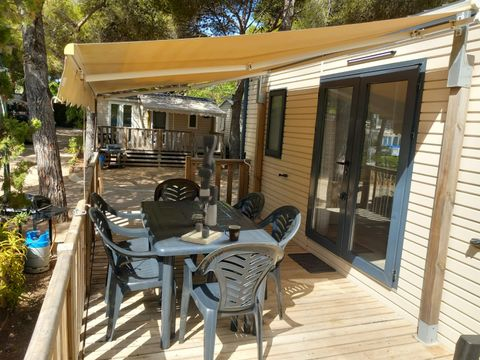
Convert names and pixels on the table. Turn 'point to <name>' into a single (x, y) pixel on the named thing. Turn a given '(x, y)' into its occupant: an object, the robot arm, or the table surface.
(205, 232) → the slider
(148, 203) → the table surface
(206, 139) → the robot arm
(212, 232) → the switch panel
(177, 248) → the table surface
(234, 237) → the coffee mug
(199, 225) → the slider
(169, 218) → the table surface
